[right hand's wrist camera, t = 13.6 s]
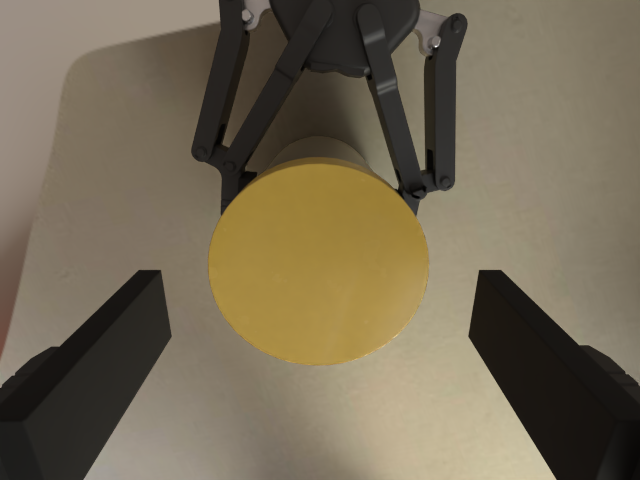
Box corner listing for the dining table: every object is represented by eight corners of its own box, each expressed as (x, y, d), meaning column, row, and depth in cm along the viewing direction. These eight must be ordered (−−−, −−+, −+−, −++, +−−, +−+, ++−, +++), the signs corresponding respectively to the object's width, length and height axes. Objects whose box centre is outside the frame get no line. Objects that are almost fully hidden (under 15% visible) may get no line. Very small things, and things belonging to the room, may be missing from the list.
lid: (298, 371, 21) (296, 397, 19) (176, 236, 18) (160, 251, 16) (454, 277, 19) (469, 296, 17) (343, 110, 16) (346, 112, 14)
